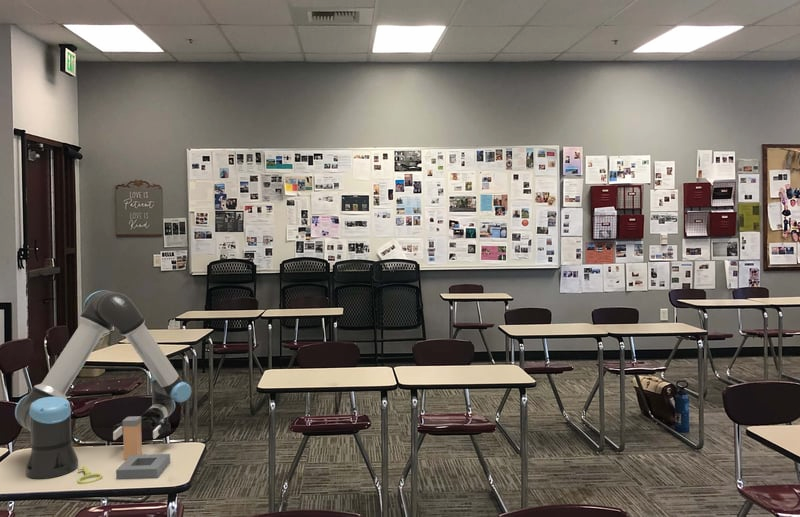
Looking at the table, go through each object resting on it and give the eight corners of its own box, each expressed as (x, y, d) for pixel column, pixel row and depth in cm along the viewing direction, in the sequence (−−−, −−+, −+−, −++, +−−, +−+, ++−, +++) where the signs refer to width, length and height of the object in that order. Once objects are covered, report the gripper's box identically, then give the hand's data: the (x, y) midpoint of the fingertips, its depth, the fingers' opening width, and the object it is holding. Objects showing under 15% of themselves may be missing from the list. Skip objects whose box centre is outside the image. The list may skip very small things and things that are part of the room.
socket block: (116, 479, 196) (116, 470, 196) (131, 463, 209) (131, 455, 209) (157, 477, 197) (157, 468, 197) (170, 462, 210) (170, 453, 210)
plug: (123, 460, 212) (122, 420, 212) (128, 455, 217) (127, 416, 216) (137, 460, 213) (136, 420, 212) (142, 455, 217) (141, 416, 217)
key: (85, 470, 205) (85, 464, 204) (105, 479, 198) (105, 473, 197) (63, 478, 199) (63, 471, 199) (83, 487, 192) (82, 480, 192)
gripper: (187, 425, 237) (170, 444, 216) (121, 427, 235) (98, 447, 214) (187, 406, 236) (170, 424, 215) (120, 408, 235) (97, 426, 214)
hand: (134, 435), depth 215 cm, fingers open, 13 cm apart
